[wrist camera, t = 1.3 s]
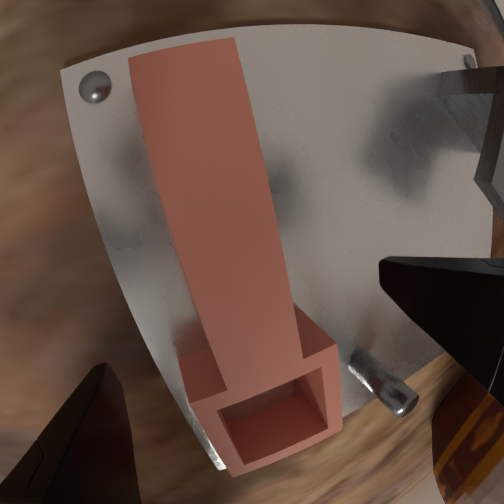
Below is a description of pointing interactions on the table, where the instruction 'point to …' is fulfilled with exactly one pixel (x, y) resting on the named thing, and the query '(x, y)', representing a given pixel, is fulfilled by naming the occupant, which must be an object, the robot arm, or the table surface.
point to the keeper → (480, 122)
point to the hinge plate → (299, 189)
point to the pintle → (383, 384)
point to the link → (232, 258)
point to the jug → (469, 445)
